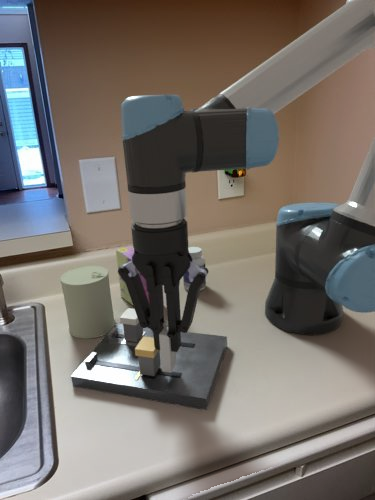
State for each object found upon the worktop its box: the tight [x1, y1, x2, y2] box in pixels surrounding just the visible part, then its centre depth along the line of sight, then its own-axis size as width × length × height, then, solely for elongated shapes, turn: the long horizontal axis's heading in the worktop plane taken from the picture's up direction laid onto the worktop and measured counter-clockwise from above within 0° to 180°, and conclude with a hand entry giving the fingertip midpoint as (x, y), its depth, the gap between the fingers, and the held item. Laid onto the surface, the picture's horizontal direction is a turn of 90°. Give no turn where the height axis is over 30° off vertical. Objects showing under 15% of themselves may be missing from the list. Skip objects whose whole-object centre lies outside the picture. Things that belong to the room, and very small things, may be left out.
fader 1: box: [119, 307, 143, 342], centre depth 69 cm, size 3×3×5 cm
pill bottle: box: [182, 246, 207, 292], centre depth 91 cm, size 5×5×10 cm
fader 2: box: [135, 337, 161, 376], centre depth 60 cm, size 3×3×5 cm
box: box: [115, 245, 165, 306], centre depth 85 cm, size 10×6×12 cm, turn 35°
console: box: [70, 322, 228, 411], centre depth 65 cm, size 22×16×3 cm
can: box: [59, 265, 116, 340], centre depth 76 cm, size 9×9×12 cm
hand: (169, 366), depth 59 cm, fingers closed
